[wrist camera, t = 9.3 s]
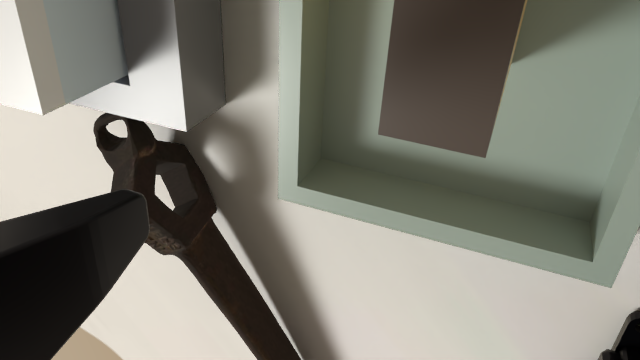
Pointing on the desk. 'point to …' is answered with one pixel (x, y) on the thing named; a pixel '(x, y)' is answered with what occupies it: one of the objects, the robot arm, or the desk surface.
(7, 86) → the white rectangular block
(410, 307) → the desk surface
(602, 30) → the parts tray
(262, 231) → the desk surface
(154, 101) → the fuse block
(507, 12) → the tan and brown block
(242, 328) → the wrench
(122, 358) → the desk surface
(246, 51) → the desk surface
